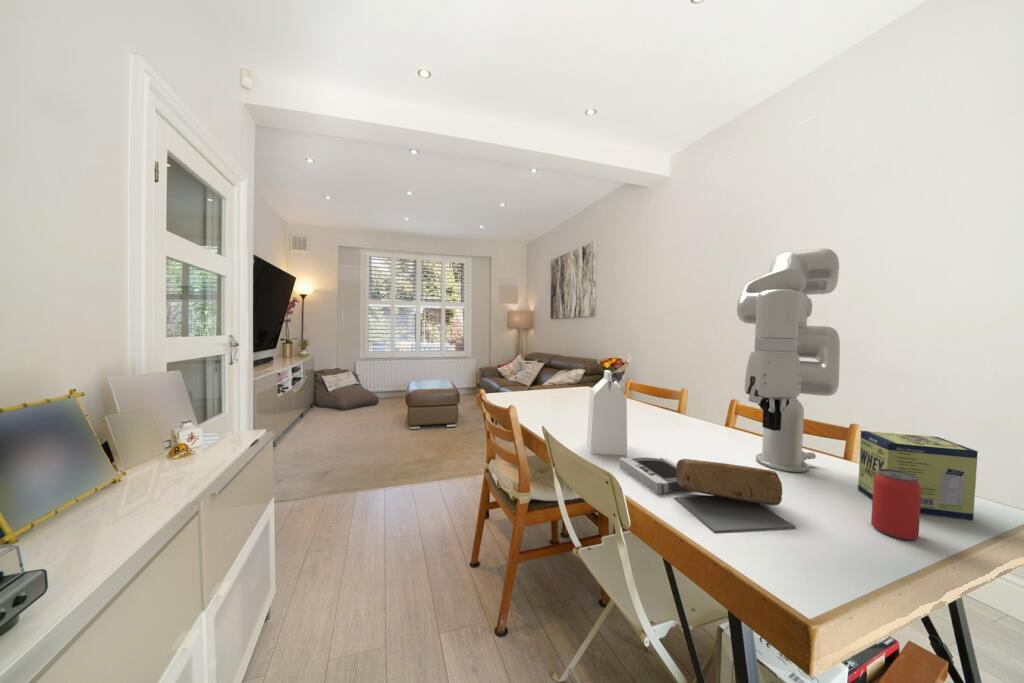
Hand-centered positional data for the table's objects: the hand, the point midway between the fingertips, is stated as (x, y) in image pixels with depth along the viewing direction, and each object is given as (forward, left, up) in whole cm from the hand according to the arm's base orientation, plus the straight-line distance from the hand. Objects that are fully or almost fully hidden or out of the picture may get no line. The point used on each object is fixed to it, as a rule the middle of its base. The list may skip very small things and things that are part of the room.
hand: (771, 428), depth 79 cm
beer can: (-19, +10, -19) cm, 29 cm away
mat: (+9, 0, -19) cm, 21 cm away
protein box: (-37, 0, -19) cm, 42 cm away
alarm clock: (+14, -19, -19) cm, 31 cm away
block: (-3, -1, -14) cm, 14 cm away
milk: (+21, -43, -19) cm, 51 cm away
